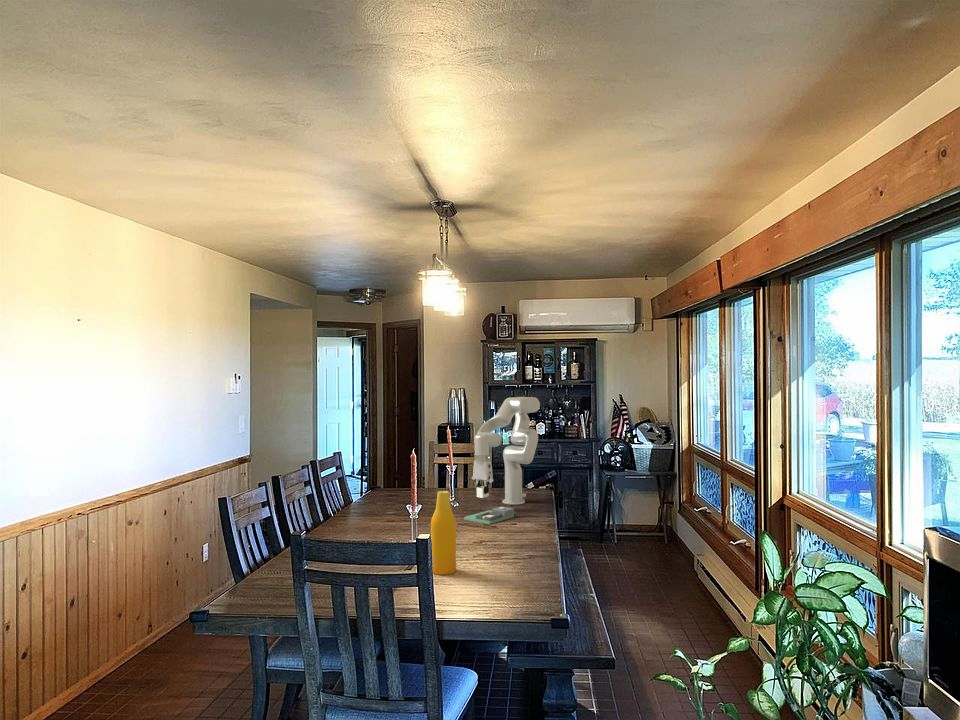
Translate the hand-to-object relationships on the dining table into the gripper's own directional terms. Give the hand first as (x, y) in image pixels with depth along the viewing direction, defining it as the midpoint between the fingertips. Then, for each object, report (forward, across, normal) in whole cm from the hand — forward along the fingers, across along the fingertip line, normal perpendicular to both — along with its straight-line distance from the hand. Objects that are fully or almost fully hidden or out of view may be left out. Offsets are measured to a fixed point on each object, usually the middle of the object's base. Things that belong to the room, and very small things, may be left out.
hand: (482, 492), depth 334 cm
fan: (+9, -16, +4) cm, 19 cm away
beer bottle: (+8, -52, +87) cm, 102 cm away
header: (+8, -15, +14) cm, 22 cm away
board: (+10, -12, +10) cm, 18 cm away
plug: (+2, 0, 0) cm, 2 cm away
